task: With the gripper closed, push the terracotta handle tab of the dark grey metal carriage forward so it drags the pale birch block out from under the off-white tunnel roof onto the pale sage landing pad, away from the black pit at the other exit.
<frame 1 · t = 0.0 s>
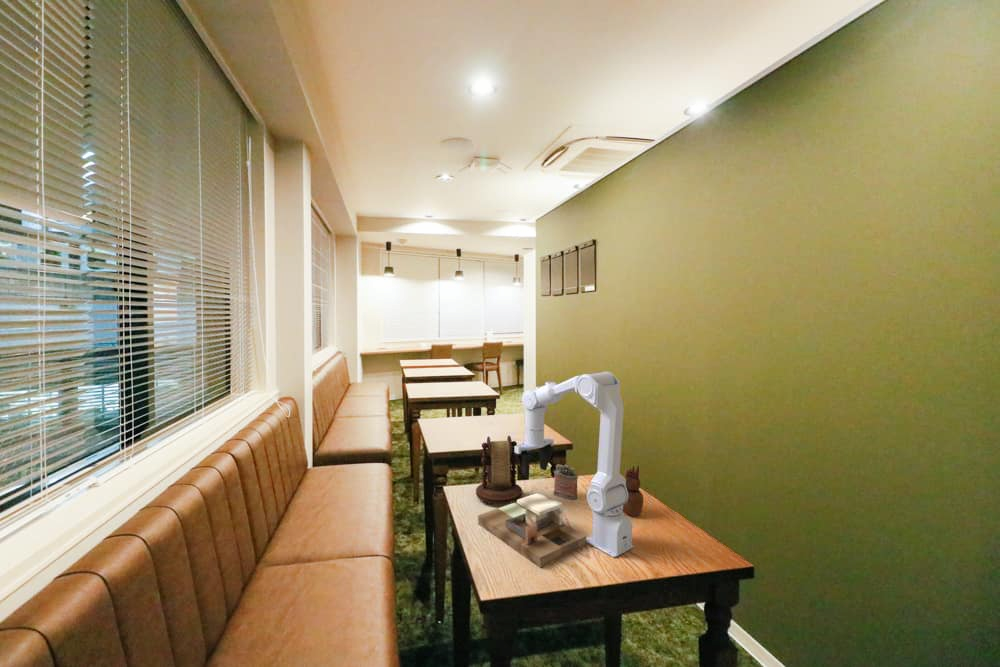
hand: (534, 471, 131), 10 cm above the table, fingers open, 7 cm apart
wooden figurine: (631, 514, 126), on the table
block: (535, 523, 115), point 2 cm above the table, touching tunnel
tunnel: (535, 532, 115), on the table
carriage: (535, 532, 115), resting on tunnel, slide at 0.0 cm
lighter: (565, 496, 138), on the table
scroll: (498, 498, 136), on the table
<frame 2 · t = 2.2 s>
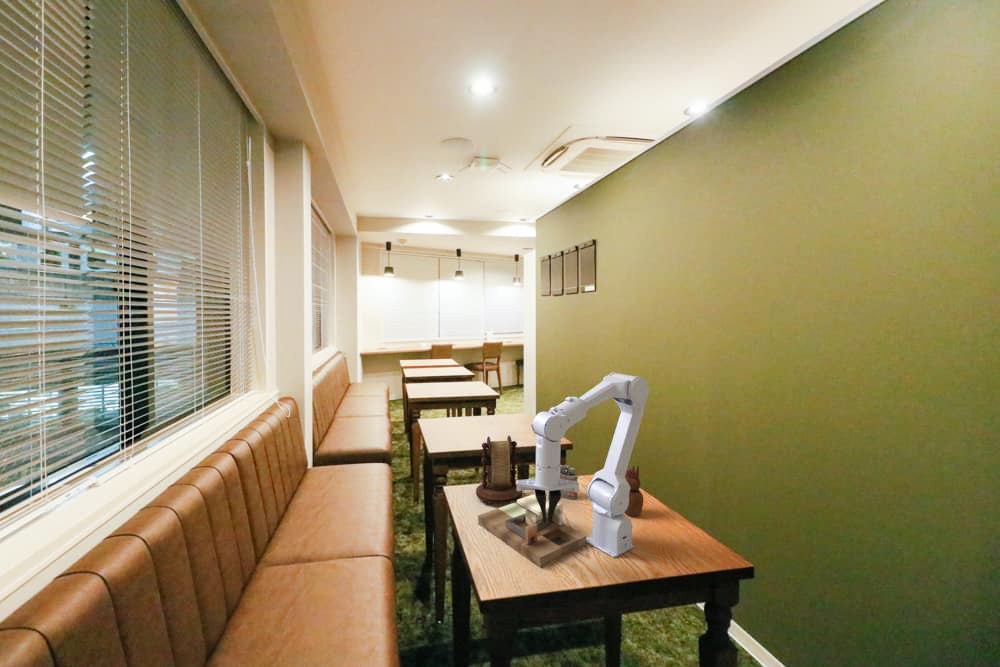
hand: (547, 520, 100), 10 cm above the table, fingers closed
nothing on the table moved.
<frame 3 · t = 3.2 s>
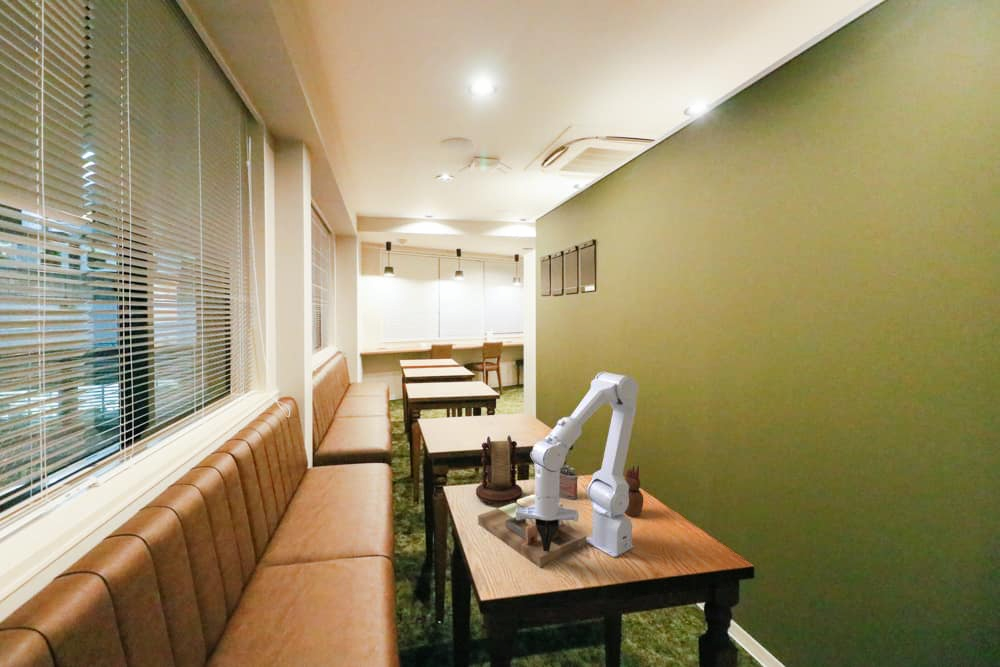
hand: (546, 548, 101), 3 cm above the table, fingers closed
nothing on the table moved.
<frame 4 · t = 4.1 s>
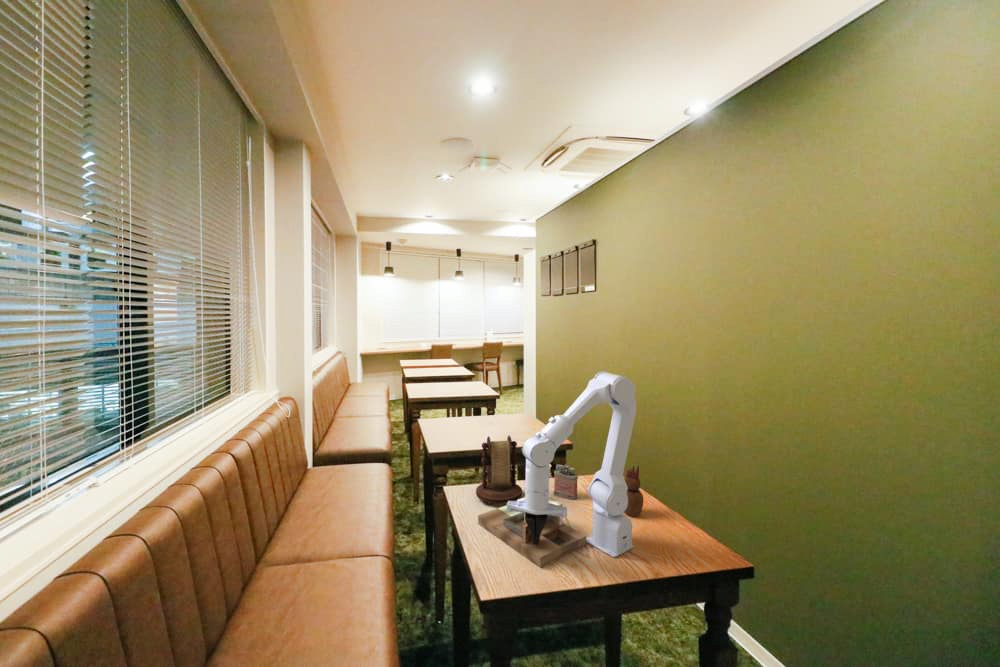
hand: (536, 542, 103), 3 cm above the table, fingers closed
block: (534, 522, 115), point 3 cm above the table, touching carriage
carriage: (533, 530, 116), resting on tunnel, slide at 0.9 cm, touching block, gripper
everything else where it was.
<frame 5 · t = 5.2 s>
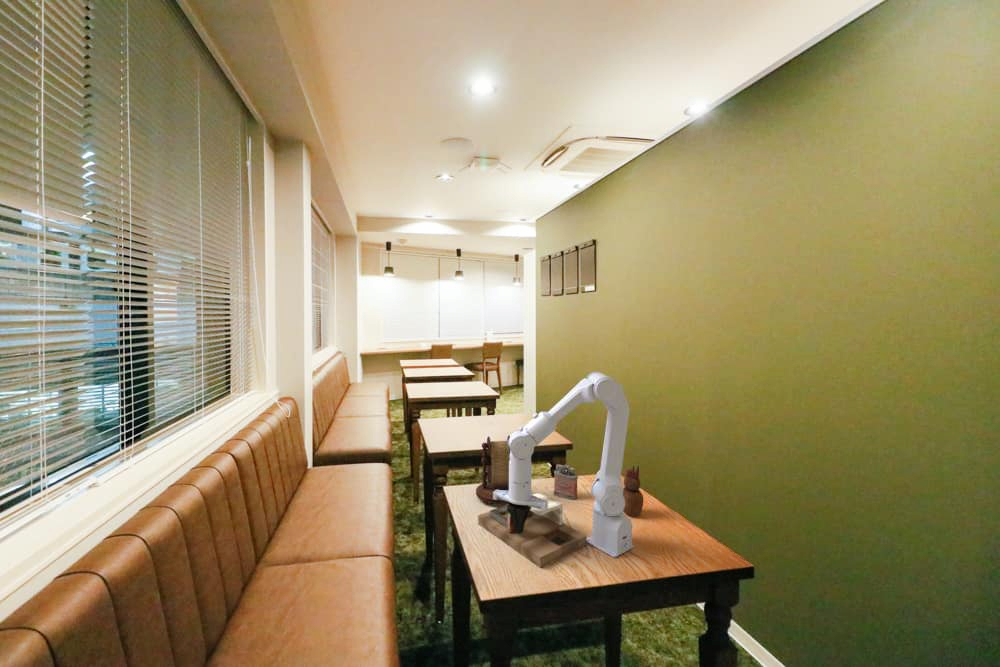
hand: (519, 531, 108), 3 cm above the table, fingers closed
block: (520, 513, 120), point 2 cm above the table, touching carriage, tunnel
carriage: (519, 521, 120), resting on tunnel, slide at 7.1 cm, touching block, gripper
everything else where it was.
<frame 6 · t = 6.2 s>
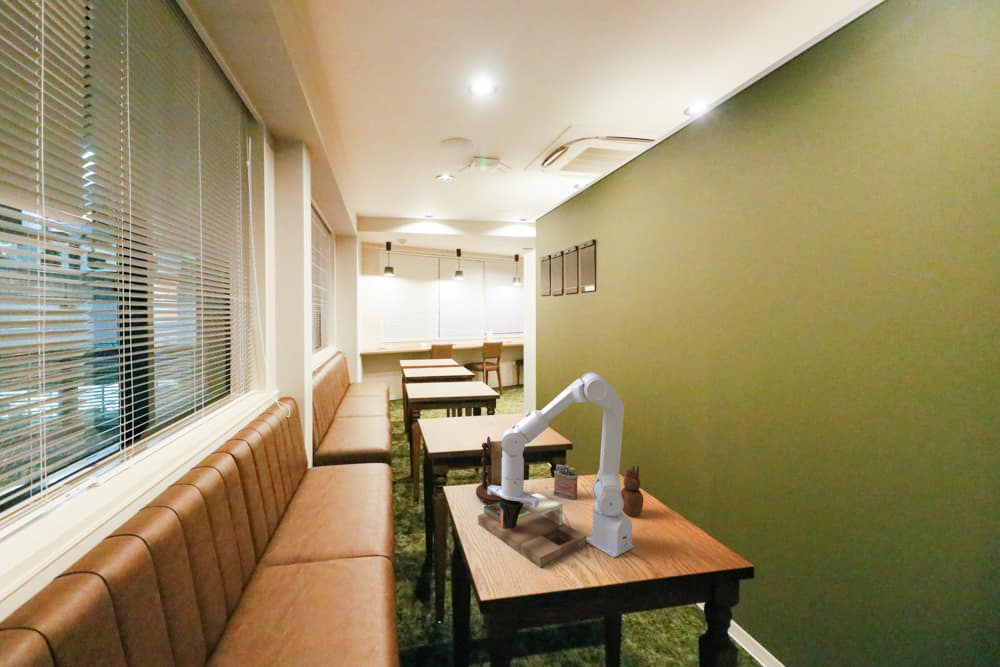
hand: (512, 526, 111), 3 cm above the table, fingers closed
block: (513, 509, 122), point 2 cm above the table, touching carriage, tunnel
carriage: (512, 517, 123), resting on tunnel, slide at 10.0 cm, touching block, gripper
everything else where it was.
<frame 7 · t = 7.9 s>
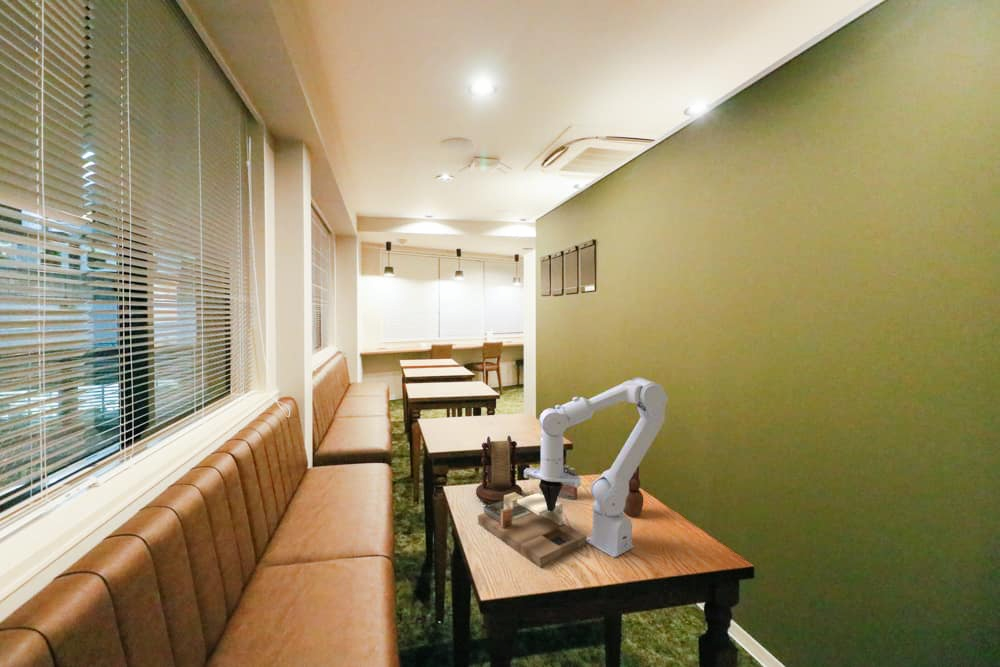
hand: (551, 509, 108), 9 cm above the table, fingers closed
carriage: (512, 517, 123), resting on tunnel, slide at 10.0 cm, touching block
everything else where it was.
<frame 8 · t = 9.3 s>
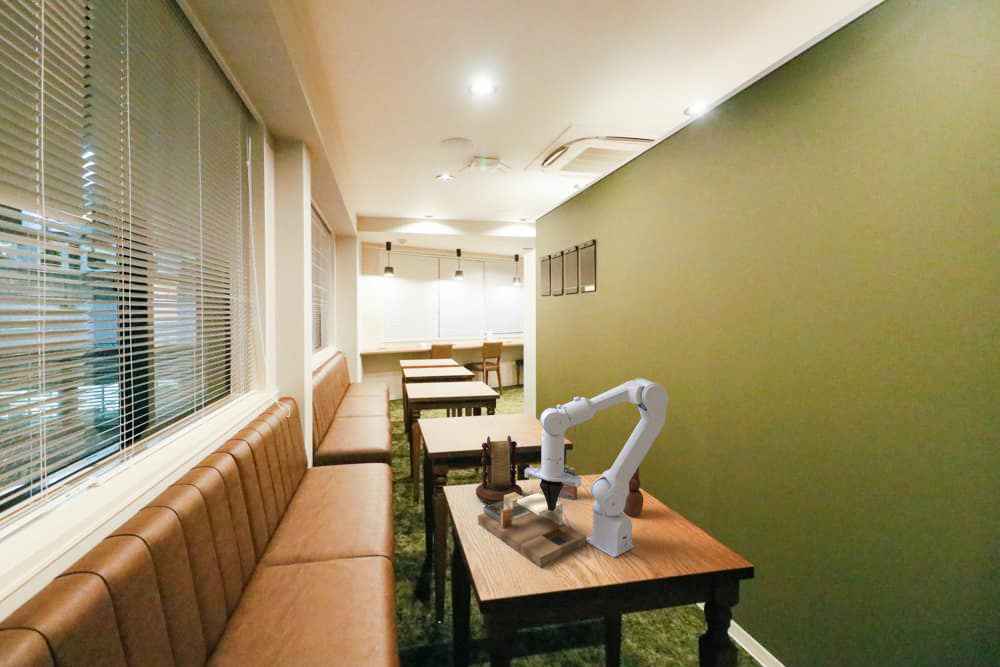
hand: (551, 509, 108), 9 cm above the table, fingers closed
nothing on the table moved.
at the end: carriage slide at 10.0 cm; block 0.1 cm from the target spot on the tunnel, point 2.5 cm above the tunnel's base; block tilted 0° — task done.
